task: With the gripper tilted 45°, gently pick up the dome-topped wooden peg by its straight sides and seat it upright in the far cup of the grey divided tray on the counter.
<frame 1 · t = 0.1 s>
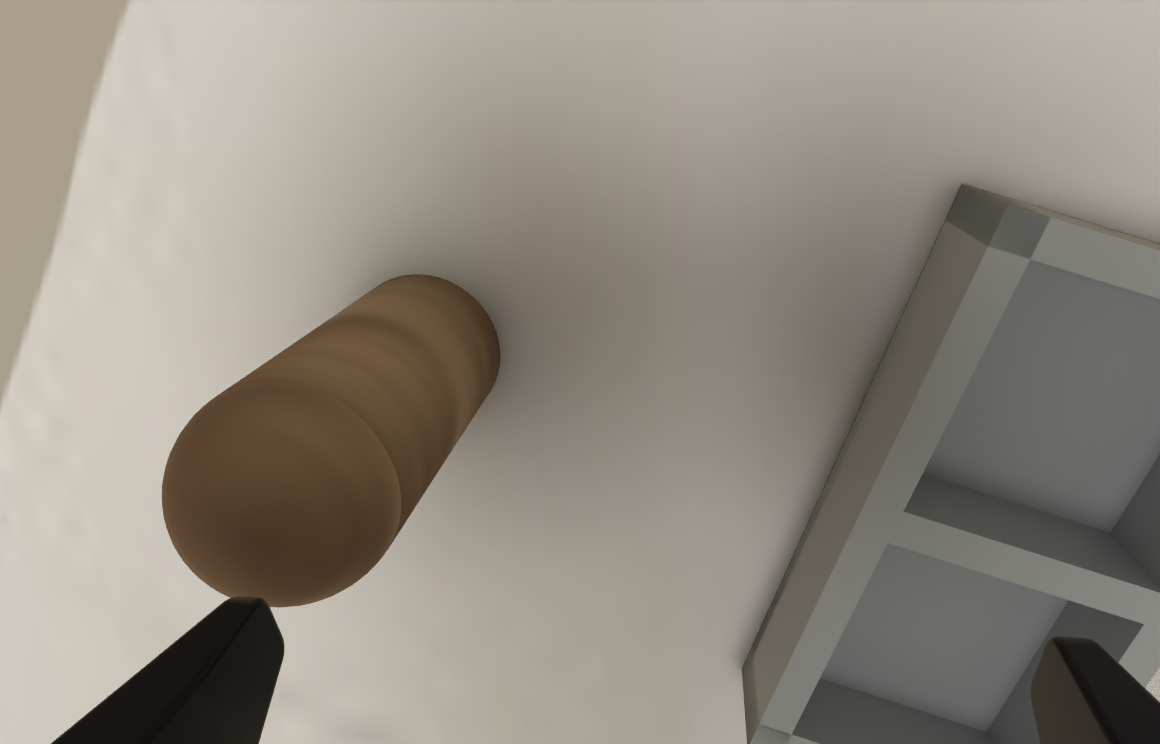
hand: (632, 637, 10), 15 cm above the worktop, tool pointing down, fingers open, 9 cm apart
grey divided tray: (981, 502, 25), on the worktop
dome-topped wooden peg: (424, 350, 26), on the worktop
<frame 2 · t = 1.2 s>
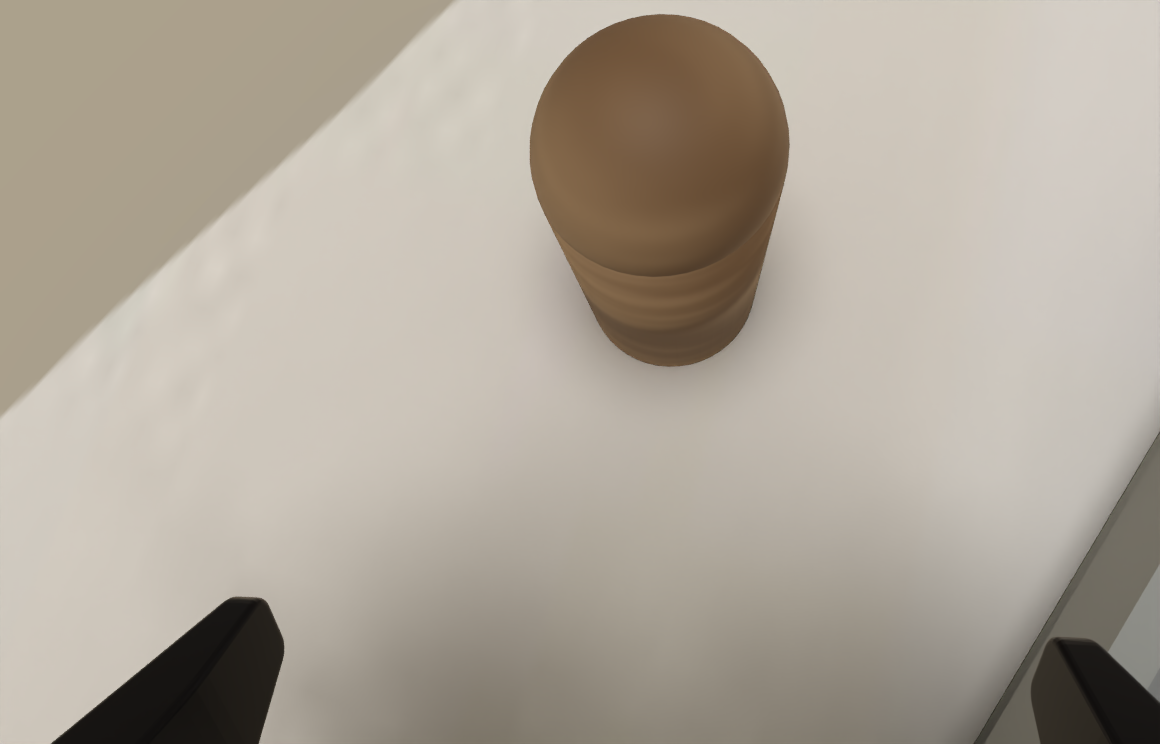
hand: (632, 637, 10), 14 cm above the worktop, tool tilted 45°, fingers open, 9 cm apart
dome-topped wooden peg: (671, 286, 24), on the worktop
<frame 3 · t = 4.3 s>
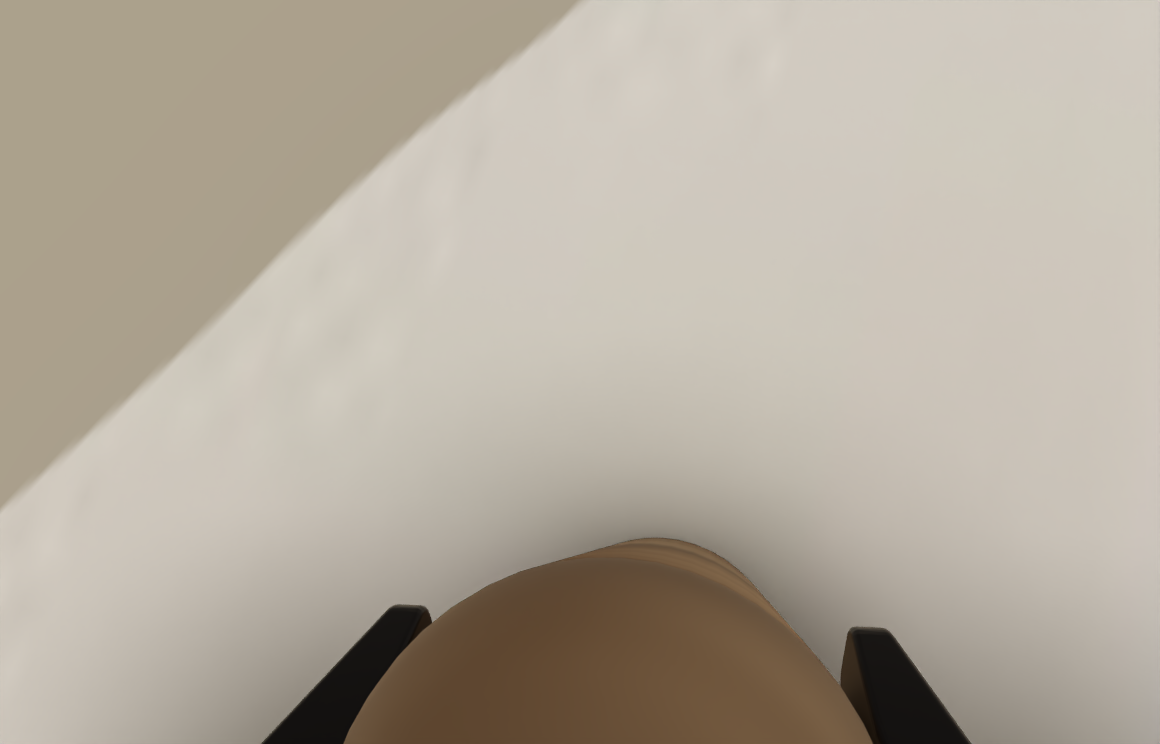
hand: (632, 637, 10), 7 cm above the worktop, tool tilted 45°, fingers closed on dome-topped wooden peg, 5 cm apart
dome-topped wooden peg: (657, 665, 16), on the worktop, touching gripper
when the fingers open (9 cm above the worktop, at t = 9.9 s): dome-topped wooden peg drops 1 cm, resting on grey divided tray.
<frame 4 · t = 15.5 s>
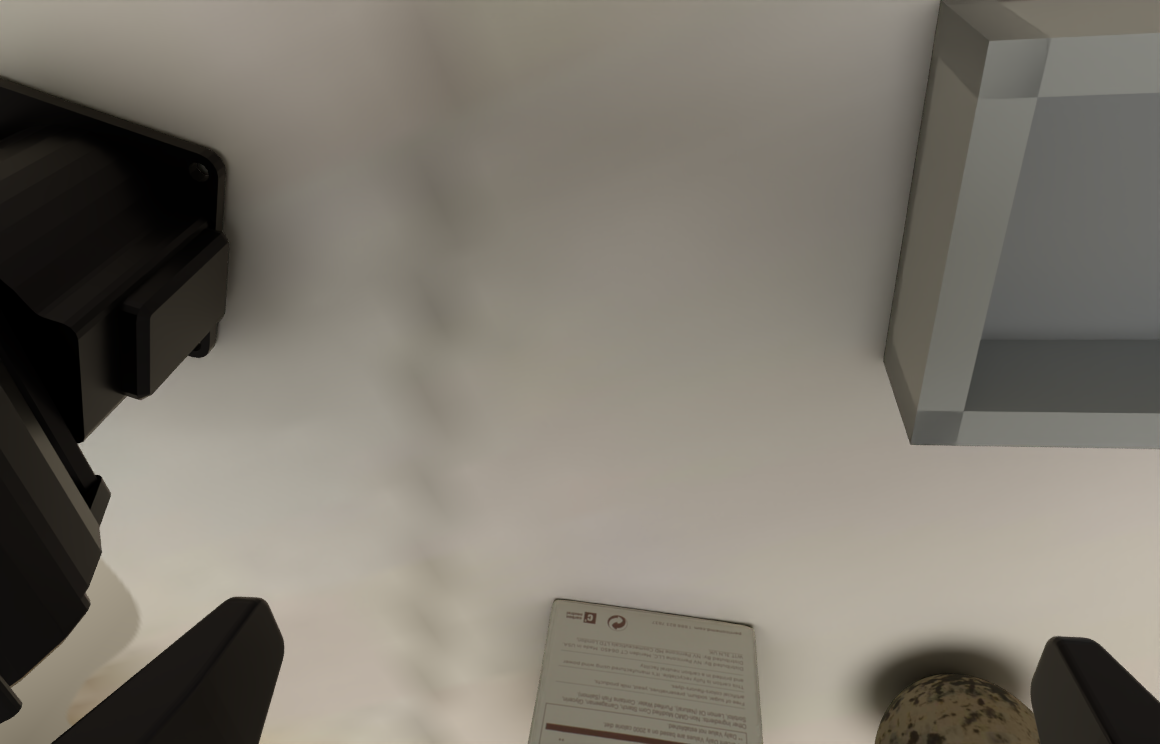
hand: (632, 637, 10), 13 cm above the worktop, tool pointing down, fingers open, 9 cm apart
supplement box: (644, 665, 31), on the worktop
decorative egg: (942, 682, 30), on the worktop
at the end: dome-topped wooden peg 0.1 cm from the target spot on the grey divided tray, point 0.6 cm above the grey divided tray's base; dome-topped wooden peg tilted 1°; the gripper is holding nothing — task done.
